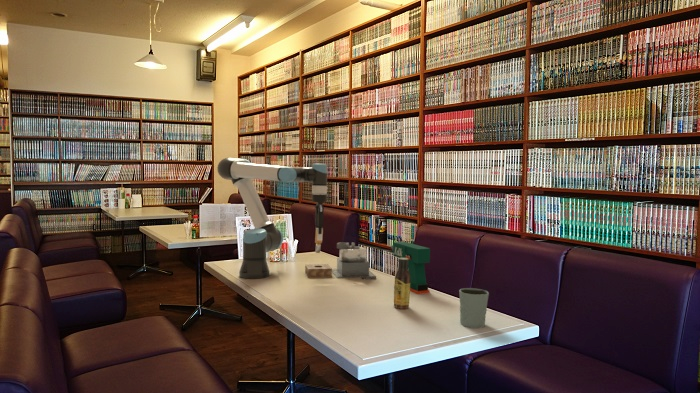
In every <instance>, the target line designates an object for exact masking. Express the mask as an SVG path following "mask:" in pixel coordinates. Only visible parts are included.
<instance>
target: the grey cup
mask: <svg viewBox="0 0 700 393" xmlns="http://www.w3.org/2000/svg"><path fill="white" fill-rule="evenodd" d="M458 292H459V313H460V315H459V316H460V320H459V323H460V325H461V326H463V327H466V328H471V329H481V328H484V327H485V326H486V314H487V311H488V310H487V309H488V308H487V307H488V301H489V296H490V293H489V291H488V290H486V289H481V288H475V287H474V288H473V287H465V288H464V287H463V288H460V289H459V290H458Z"/></svg>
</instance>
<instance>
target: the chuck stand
mask: <svg viewBox="0 0 700 393" xmlns="http://www.w3.org/2000/svg"><path fill="white" fill-rule="evenodd" d="M336 259H337V260H336V268H332V275H334V276H335V278H337V279H353V278H354V279H357V278H359V279H361V280H377V276H376V274H374V273H373V271H371V270H370V261H368V260H367V259H366V261H362V262H346V261H341V260H339V257H337V258H336Z"/></svg>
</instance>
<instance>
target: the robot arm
mask: <svg viewBox="0 0 700 393" xmlns="http://www.w3.org/2000/svg"><path fill="white" fill-rule="evenodd" d="M327 165H328V164H326V163H313V164H312V166H311V167H305V166H304V167H303V166H302V167H301V166H283V165H271V164H260V163H259V164H257V163H252V162H251V161H250V160H248V159H246V158H243V157H239V158H238V157H225V158H223V159H220V161H219V162H218V164H217V167H216V168H217V169H216V170H217V174H218V175H219V176H220V178H222V179H224V180H226V181H227V180H229V181H230V180H231V183H232V184H233V186H234V187H236V188H237V190H238V192H239V194H240V196H241V199H242V201H243V204H244V205H245V208H246V210H247V213H248V215H249V217H250V220H251V223H252V224H253V228H249V229H247V230H245V231H244V232H243V237H242V263H241V266H240V269H239V273H238V274H239V275H238V276H239V277H240V278H242V279H253V280H254V279H264V278H267V277H269V276H270V269H269V265H268V262H267V253H269V252H274V251H276V250H278V249H279V248H281V246H282V245H283V242H284V235H283V232H282V230H280V229H279V228H277V227H276V226H275V224H274V222H272V221H270V218H269V217H268V214H267V212H266V210H265V207H264V205H263V202H262V201H261V198H260V195H259V194H258V191H257V189H256V187H255V184H254V180H262V181H263V180H264V181H275V182H276V181H277V182H282V183H283V182H284V183H312V186H311V193H312V195H311V201H312V202H314V203H316V205H314V208H315V214H314V215H315V217H314V218H315V220H314V221H315V222H314V224H315V230H316V229H317V241H322V242H323V236H322V231H323V232H324V210H325V207H324V205H323V203H326V202H328V195H327V194H328V190H329V187H328V166H327Z"/></svg>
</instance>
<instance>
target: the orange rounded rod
mask: <svg viewBox="0 0 700 393" xmlns="http://www.w3.org/2000/svg"><path fill="white" fill-rule="evenodd" d="M323 234H324V230H323V231H322V237H323ZM314 243H315V253H316V254H320V253H321V246H322V244H323V240H322V241H317V229H316V228H315V237H314Z"/></svg>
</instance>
